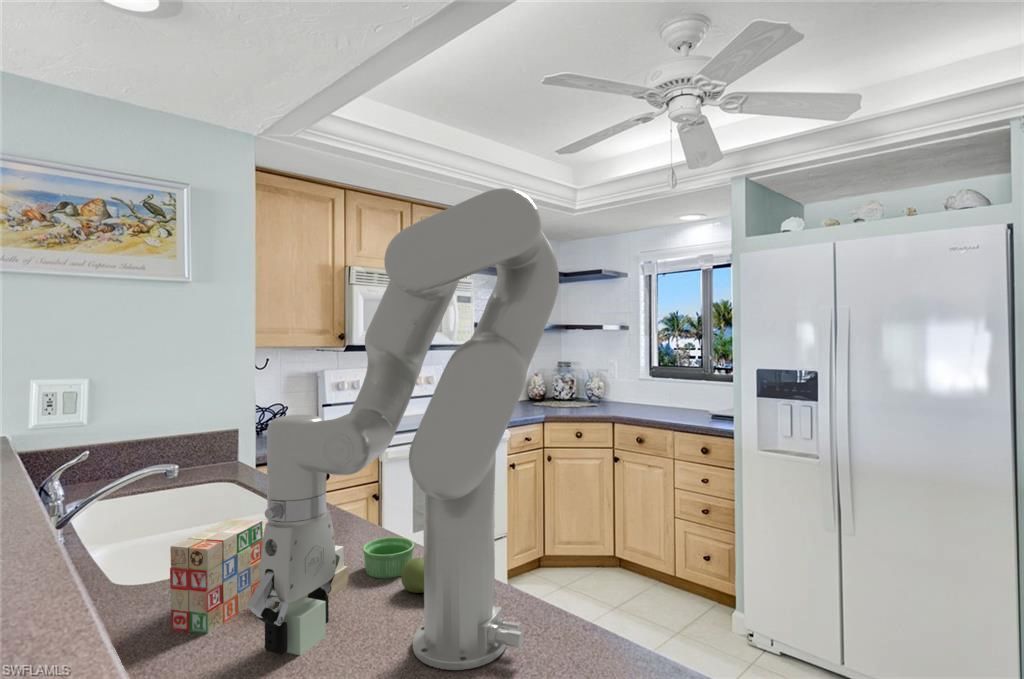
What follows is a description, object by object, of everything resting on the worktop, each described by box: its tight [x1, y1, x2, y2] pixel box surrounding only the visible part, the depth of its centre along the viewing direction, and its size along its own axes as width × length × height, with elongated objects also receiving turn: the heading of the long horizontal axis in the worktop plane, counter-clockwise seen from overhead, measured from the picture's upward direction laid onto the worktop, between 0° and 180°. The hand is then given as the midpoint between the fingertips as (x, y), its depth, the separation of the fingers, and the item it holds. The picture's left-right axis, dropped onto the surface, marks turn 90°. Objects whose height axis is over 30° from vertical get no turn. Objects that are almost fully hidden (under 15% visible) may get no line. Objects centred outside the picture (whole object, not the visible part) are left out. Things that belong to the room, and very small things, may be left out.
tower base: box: [276, 565, 349, 599], centre depth 92 cm, size 8×8×4 cm
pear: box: [400, 557, 424, 594], centre depth 91 cm, size 6×5×10 cm
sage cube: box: [273, 597, 327, 656], centre depth 77 cm, size 5×5×5 cm
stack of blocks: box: [169, 518, 268, 635], centre depth 90 cm, size 21×6×12 cm, turn 168°
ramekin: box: [362, 536, 415, 579], centre depth 101 cm, size 9×9×4 cm
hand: (298, 635), depth 77 cm, fingers open, 7 cm apart
